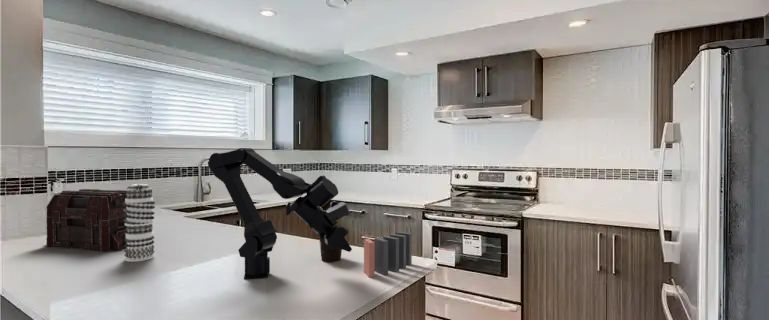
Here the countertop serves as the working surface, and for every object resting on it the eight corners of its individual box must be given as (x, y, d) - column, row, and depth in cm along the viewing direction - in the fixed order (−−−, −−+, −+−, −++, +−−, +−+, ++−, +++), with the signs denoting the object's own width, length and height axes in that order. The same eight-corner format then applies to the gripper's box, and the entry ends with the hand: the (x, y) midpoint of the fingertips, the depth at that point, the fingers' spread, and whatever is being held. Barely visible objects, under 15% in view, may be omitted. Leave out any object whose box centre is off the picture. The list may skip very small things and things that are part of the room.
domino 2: (383, 275, 113) (383, 241, 112) (374, 271, 117) (374, 238, 117) (388, 274, 114) (388, 240, 113) (378, 270, 118) (378, 237, 118)
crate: (38, 247, 145) (37, 191, 145) (88, 236, 163) (87, 187, 163) (111, 253, 136) (110, 194, 136) (155, 241, 155) (154, 189, 154)
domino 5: (409, 265, 123) (409, 234, 123) (395, 262, 125) (395, 232, 125) (411, 263, 124) (411, 233, 124) (397, 261, 127) (397, 231, 126)
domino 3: (395, 272, 116) (395, 239, 116) (383, 268, 119) (383, 236, 119) (399, 270, 117) (399, 238, 117) (386, 267, 120) (386, 235, 120)
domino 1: (369, 277, 111) (369, 243, 111) (363, 272, 115) (364, 239, 115) (374, 276, 111) (374, 242, 111) (369, 271, 116) (369, 238, 116)
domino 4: (403, 268, 119) (403, 236, 119) (389, 266, 122) (389, 234, 122) (405, 267, 121) (406, 235, 120) (391, 264, 123) (392, 233, 123)
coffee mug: (339, 263, 124) (339, 233, 124) (314, 262, 126) (314, 231, 125) (349, 254, 135) (349, 226, 135) (326, 253, 137) (326, 225, 137)
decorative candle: (137, 263, 124) (136, 185, 124) (116, 260, 127) (115, 185, 127) (161, 255, 133) (161, 183, 132) (142, 253, 136) (141, 182, 135)
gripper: (340, 197, 100) (380, 236, 104) (325, 190, 118) (360, 223, 122) (310, 229, 98) (352, 267, 102) (299, 217, 115) (335, 250, 119)
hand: (350, 250), depth 111 cm, fingers closed
